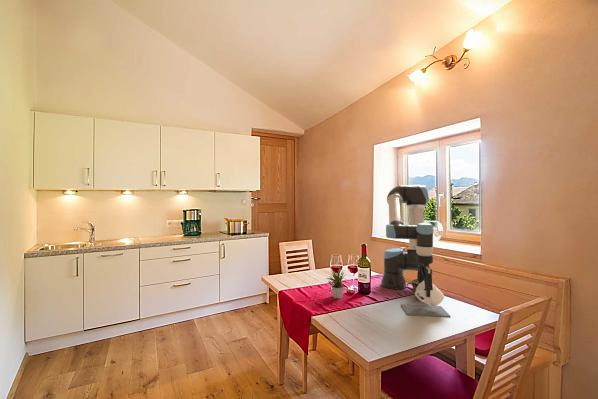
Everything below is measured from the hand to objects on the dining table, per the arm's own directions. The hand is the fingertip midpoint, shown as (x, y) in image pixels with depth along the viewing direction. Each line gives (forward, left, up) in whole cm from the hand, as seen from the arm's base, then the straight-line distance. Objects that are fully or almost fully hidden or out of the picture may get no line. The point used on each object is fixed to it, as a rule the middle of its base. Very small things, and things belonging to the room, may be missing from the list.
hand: (424, 299), depth 141 cm
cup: (-5, +1, -1) cm, 5 cm away
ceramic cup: (-7, -14, -6) cm, 17 cm away
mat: (0, 0, -6) cm, 6 cm away
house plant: (+35, -30, -6) cm, 47 cm away
